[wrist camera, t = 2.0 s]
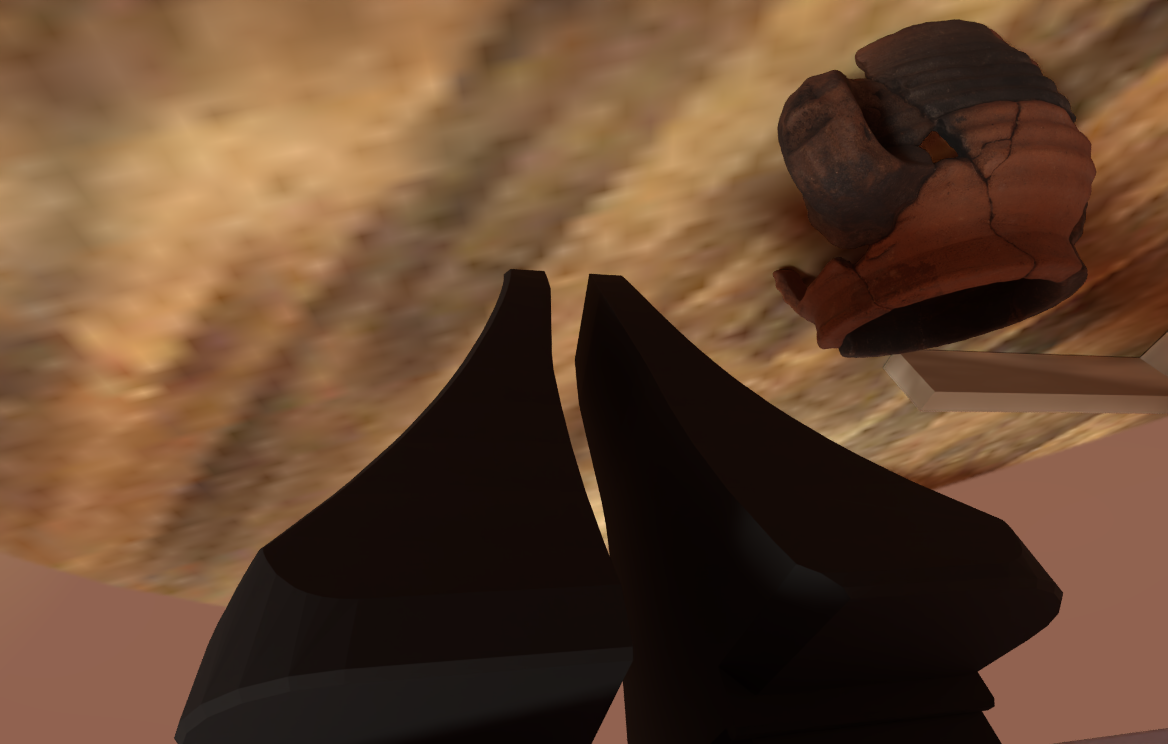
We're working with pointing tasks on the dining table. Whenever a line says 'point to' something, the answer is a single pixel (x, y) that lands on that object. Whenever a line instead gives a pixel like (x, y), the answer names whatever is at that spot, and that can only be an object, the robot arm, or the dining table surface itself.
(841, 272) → the pottery mug
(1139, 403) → the maple cradle
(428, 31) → the dining table surface
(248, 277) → the dining table surface
